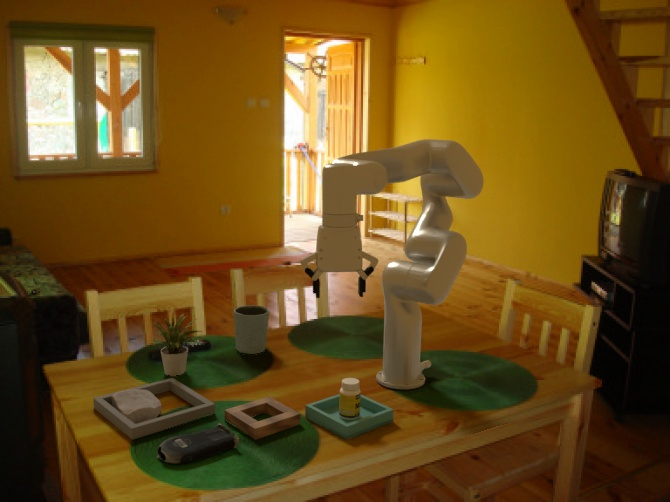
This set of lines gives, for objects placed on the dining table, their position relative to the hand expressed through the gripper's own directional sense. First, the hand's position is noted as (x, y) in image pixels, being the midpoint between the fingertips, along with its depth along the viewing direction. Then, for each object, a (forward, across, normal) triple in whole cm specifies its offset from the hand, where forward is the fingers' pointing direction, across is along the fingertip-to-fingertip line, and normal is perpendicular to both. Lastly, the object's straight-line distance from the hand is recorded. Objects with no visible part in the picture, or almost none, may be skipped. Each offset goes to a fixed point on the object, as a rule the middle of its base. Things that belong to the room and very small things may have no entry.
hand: (339, 296), depth 156 cm
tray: (+28, -2, +5) cm, 28 cm away
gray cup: (+28, +21, -43) cm, 55 cm away
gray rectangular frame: (+27, +42, -2) cm, 50 cm away
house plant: (+28, +41, -24) cm, 55 cm away
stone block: (+27, +46, -2) cm, 53 cm away
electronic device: (+27, +31, +18) cm, 45 cm away
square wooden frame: (+27, +18, +5) cm, 33 cm away
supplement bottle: (+27, -2, +5) cm, 27 cm away
